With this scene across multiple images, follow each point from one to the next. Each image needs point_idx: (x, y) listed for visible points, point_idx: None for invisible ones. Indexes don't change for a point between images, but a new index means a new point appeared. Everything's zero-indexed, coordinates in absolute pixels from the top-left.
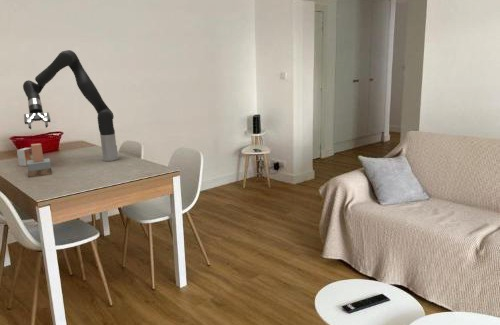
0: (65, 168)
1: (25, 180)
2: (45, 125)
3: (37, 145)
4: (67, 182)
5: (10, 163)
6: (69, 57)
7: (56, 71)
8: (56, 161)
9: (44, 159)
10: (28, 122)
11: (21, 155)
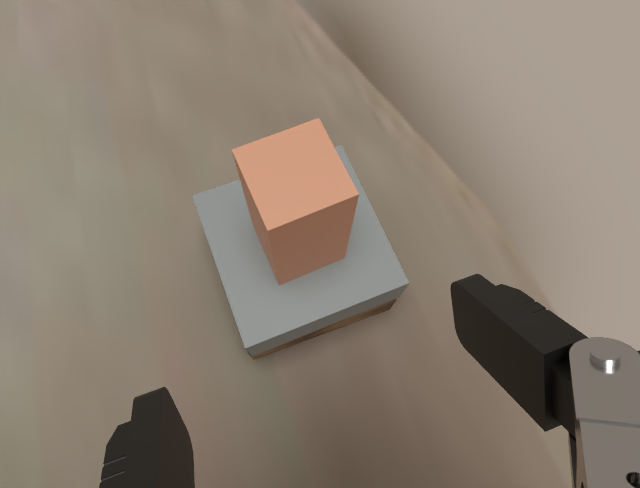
0: (151, 385)
1: (329, 126)
2: (171, 418)
3: (268, 140)
4: (83, 39)
5: None
6: None
7: None
8: None
9: (268, 294)
10: (592, 345)
11: None
